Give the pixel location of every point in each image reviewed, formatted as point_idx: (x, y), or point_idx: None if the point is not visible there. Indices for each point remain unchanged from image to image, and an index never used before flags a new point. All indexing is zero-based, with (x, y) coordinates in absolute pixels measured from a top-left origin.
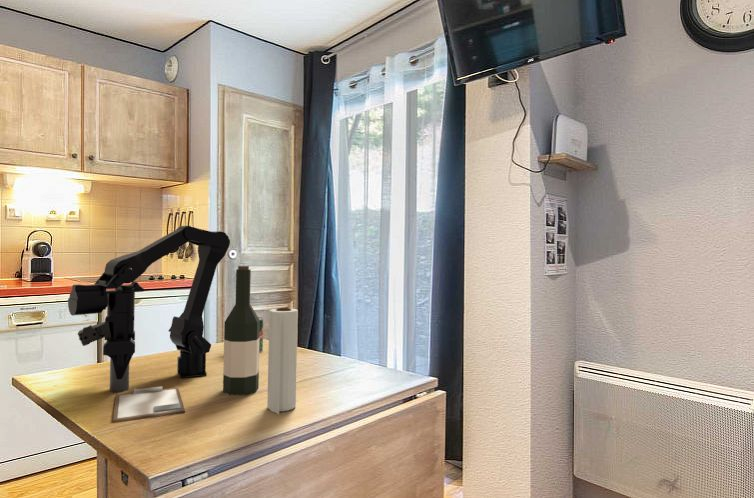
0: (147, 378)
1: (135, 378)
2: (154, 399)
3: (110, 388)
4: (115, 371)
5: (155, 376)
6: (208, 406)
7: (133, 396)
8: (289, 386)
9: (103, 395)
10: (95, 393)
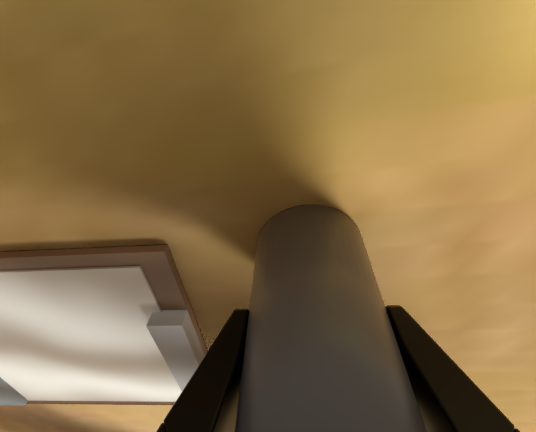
0: (468, 338)
1: (516, 300)
2: (75, 361)
3: (285, 221)
4: (195, 371)
5: (481, 359)
6: (48, 425)
7: (117, 312)
8: None
9: (205, 182)
10: (269, 126)
